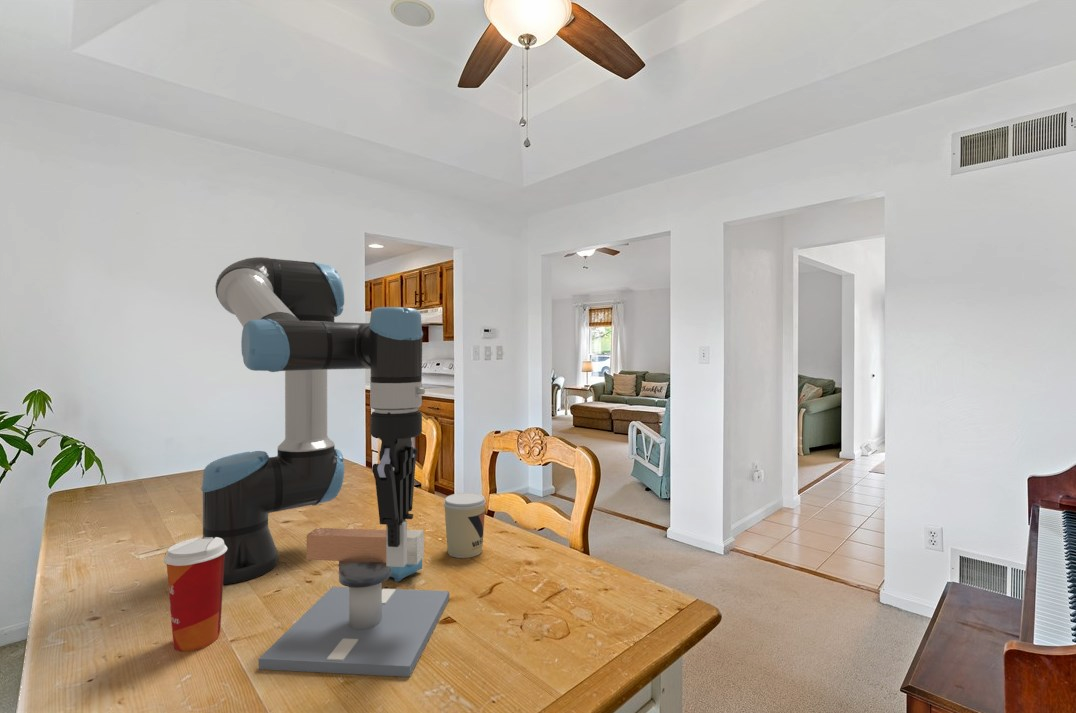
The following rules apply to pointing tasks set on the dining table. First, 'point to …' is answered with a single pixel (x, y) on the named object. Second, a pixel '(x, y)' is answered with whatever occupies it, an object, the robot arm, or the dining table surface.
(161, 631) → the dining table surface
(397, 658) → the striped base plate
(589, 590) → the dining table surface
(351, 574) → the t handle
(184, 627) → the coffee cup
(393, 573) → the teapot
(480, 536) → the coffee cup
